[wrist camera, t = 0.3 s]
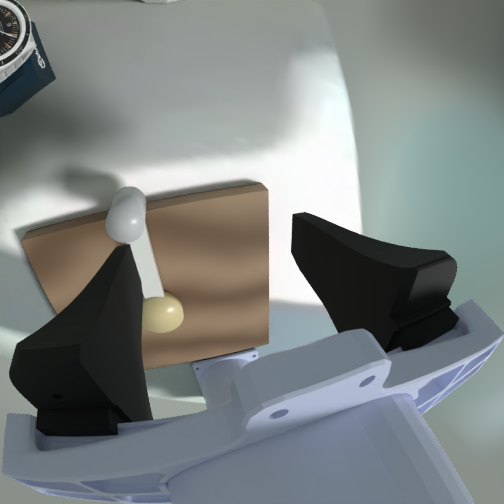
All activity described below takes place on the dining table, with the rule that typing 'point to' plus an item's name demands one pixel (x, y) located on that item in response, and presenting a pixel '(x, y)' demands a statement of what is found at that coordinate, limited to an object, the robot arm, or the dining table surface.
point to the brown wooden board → (178, 269)
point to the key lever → (143, 260)
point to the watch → (20, 58)
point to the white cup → (159, 1)
